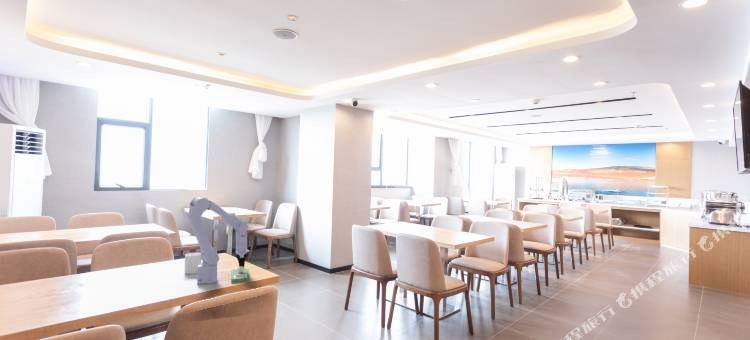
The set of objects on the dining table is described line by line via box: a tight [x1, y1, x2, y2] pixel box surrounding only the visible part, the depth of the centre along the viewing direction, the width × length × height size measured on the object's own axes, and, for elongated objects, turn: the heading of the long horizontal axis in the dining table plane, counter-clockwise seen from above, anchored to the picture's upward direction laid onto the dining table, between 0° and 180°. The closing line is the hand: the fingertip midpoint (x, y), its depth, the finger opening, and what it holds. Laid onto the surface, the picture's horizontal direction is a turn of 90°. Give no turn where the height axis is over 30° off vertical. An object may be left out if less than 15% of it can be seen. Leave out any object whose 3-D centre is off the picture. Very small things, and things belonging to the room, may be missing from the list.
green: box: [230, 268, 251, 284], centre depth 201 cm, size 9×18×2 cm, turn 21°
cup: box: [184, 252, 202, 275], centre depth 210 cm, size 8×12×10 cm
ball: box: [237, 266, 245, 273], centre depth 203 cm, size 4×4×4 cm
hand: (241, 267), depth 204 cm, fingers closed, pressing on ball
